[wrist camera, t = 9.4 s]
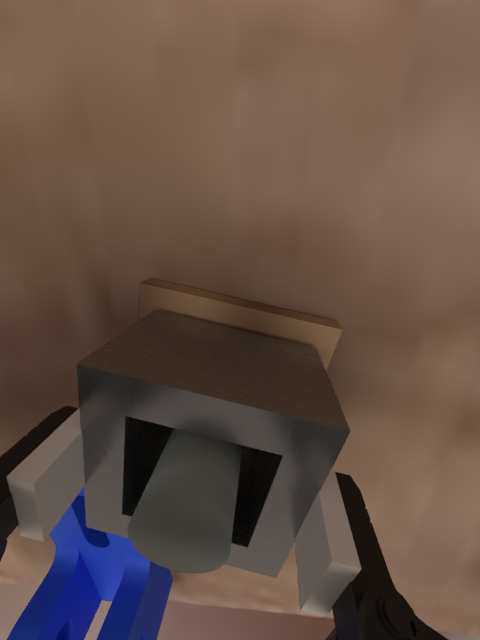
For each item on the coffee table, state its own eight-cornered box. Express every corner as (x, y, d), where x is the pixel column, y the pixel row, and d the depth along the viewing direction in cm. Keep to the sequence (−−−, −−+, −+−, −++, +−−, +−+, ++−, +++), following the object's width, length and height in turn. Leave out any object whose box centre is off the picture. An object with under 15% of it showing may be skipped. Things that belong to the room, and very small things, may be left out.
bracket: (173, 578, 24) (121, 768, 15) (96, 568, 25) (8, 740, 16) (140, 442, 17) (23, 637, 9) (39, 435, 18) (-151, 605, 10)
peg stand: (141, 419, 16) (31, 584, 9) (151, 277, 13) (-24, 350, 5) (284, 455, 16) (298, 657, 8) (336, 320, 12) (444, 466, 5)
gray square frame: (144, 431, 14) (86, 527, 10) (154, 309, 12) (76, 363, 7) (273, 464, 14) (276, 577, 10) (316, 348, 11) (350, 431, 7)
